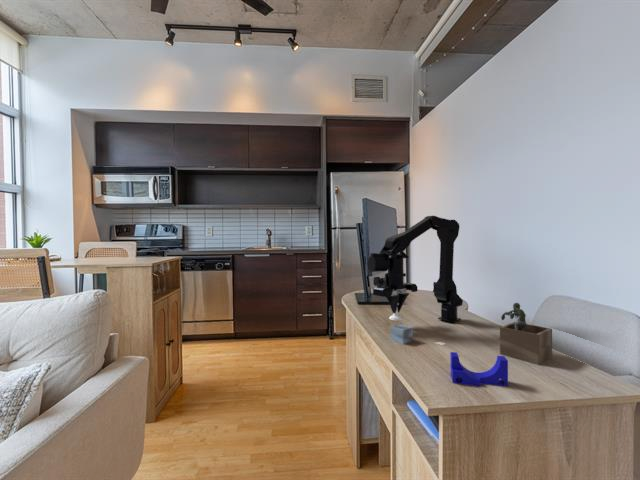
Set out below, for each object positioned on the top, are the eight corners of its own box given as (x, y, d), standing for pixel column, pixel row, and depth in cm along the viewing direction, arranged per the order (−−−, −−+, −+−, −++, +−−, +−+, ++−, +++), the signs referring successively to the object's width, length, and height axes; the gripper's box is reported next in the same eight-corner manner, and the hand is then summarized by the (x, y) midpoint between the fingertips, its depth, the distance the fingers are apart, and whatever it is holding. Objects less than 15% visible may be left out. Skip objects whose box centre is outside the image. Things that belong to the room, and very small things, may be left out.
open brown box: (515, 347, 102) (515, 321, 102) (552, 356, 94) (552, 328, 94) (500, 354, 96) (499, 327, 96) (538, 365, 88) (538, 335, 88)
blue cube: (400, 339, 112) (400, 324, 112) (412, 342, 108) (412, 327, 108) (390, 342, 109) (390, 326, 109) (402, 346, 105) (402, 330, 105)
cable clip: (452, 383, 78) (452, 358, 78) (450, 376, 82) (450, 352, 82) (509, 389, 74) (509, 363, 74) (504, 381, 79) (504, 356, 79)
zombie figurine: (516, 355, 100) (513, 305, 105) (533, 355, 93) (529, 302, 98) (500, 352, 99) (498, 302, 104) (516, 352, 93) (513, 299, 98)
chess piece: (387, 317, 125) (387, 291, 125) (400, 317, 126) (400, 290, 126) (391, 320, 120) (391, 293, 120) (404, 320, 121) (404, 293, 121)
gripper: (395, 267, 135) (395, 305, 135) (362, 270, 124) (362, 312, 124) (418, 269, 126) (418, 310, 126) (384, 273, 115) (385, 318, 115)
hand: (396, 312), depth 123 cm, fingers closed on chess piece, 2 cm apart
